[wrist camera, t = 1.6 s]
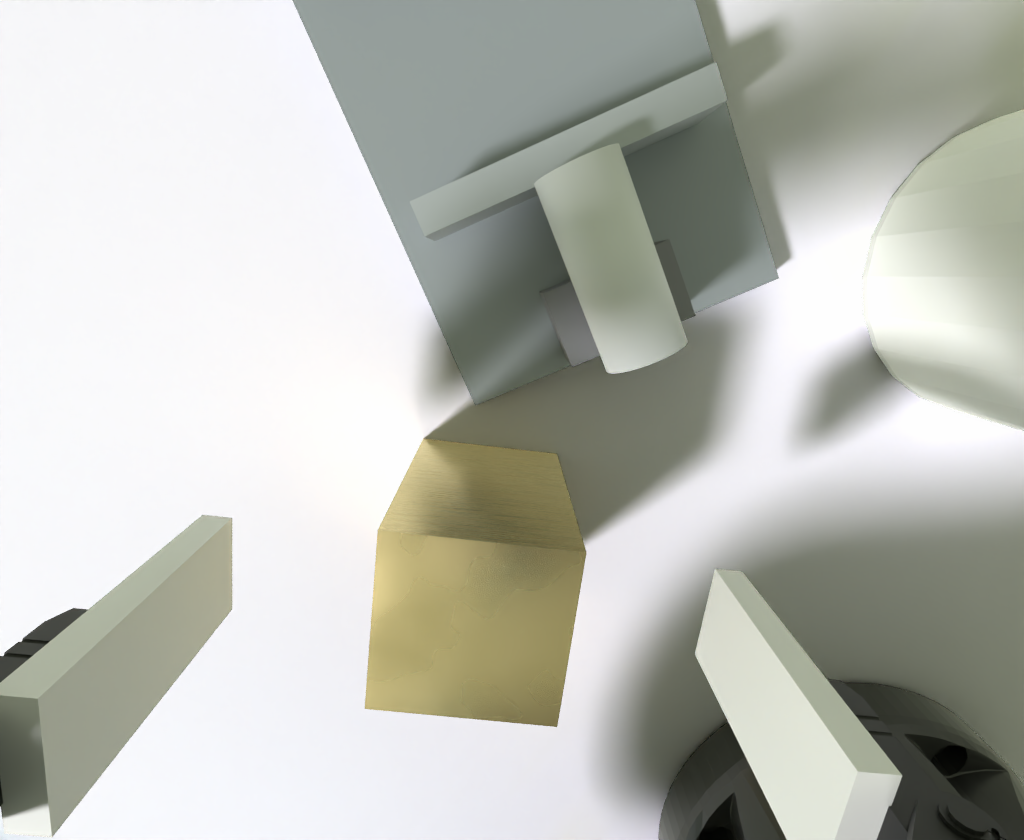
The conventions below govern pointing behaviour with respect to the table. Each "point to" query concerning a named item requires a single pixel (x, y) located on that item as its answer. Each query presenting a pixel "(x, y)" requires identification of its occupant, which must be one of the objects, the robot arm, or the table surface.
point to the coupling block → (475, 587)
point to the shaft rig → (549, 172)
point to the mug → (955, 275)
